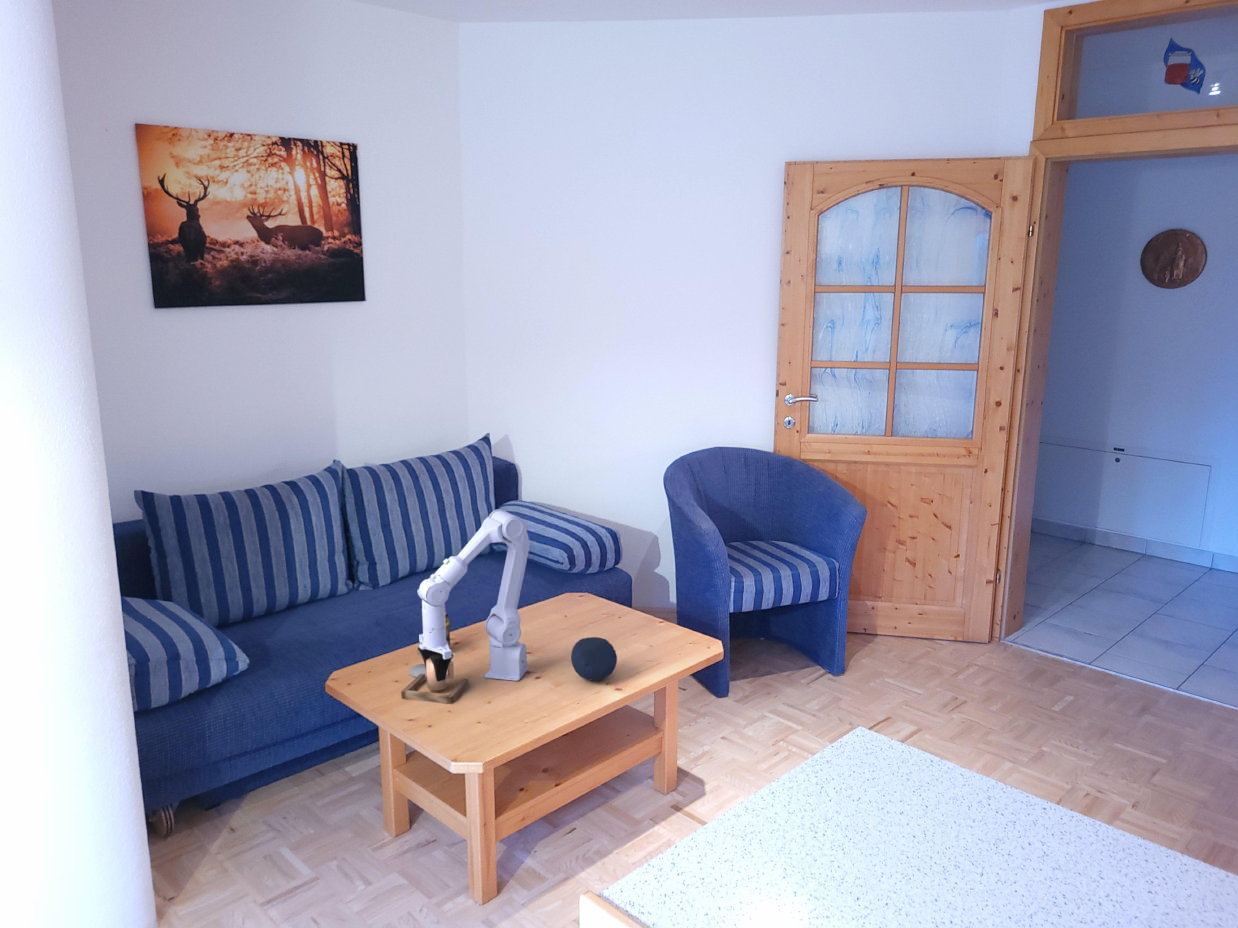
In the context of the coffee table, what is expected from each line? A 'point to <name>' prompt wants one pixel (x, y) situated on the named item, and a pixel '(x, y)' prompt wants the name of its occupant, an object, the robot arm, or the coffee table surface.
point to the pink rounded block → (431, 678)
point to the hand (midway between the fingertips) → (436, 676)
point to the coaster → (418, 670)
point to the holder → (432, 697)
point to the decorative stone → (593, 658)
